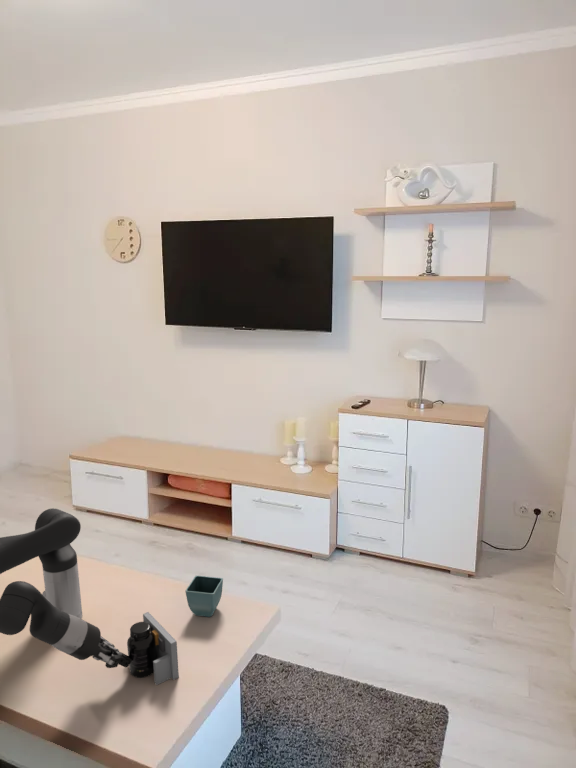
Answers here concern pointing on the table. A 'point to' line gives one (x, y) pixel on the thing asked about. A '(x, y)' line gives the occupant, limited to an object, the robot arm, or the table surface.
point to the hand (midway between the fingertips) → (128, 662)
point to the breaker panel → (163, 651)
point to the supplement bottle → (141, 650)
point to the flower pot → (204, 595)
